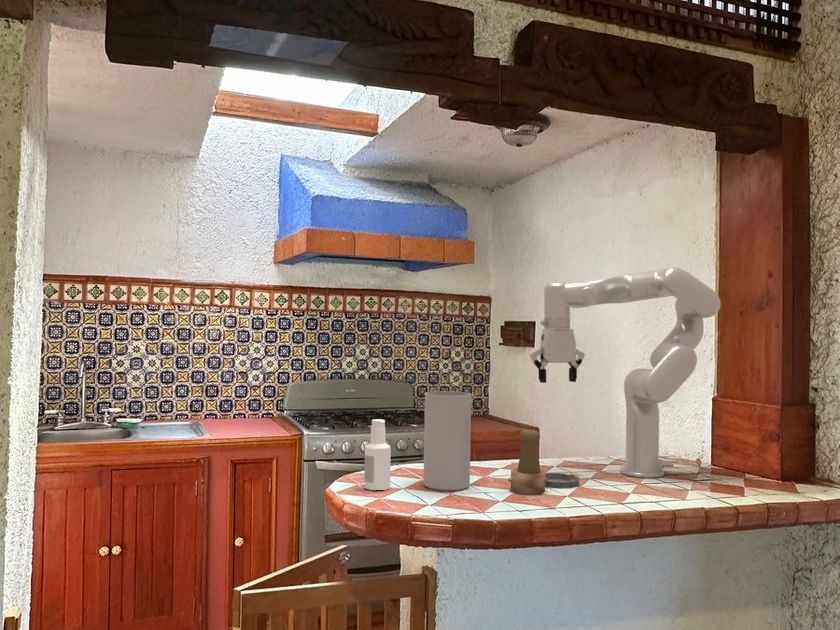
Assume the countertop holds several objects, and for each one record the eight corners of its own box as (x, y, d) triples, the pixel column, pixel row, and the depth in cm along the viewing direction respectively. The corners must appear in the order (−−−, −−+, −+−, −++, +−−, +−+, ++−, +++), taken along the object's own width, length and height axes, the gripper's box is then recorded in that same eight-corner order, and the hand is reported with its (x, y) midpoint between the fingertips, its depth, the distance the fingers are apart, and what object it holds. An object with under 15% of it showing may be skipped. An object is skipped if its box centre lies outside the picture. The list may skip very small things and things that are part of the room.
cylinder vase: (458, 479, 194) (460, 391, 195) (477, 489, 182) (478, 395, 183) (416, 482, 190) (418, 391, 190) (433, 492, 178) (434, 396, 178)
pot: (539, 486, 188) (539, 467, 188) (553, 494, 179) (553, 474, 179) (502, 487, 185) (503, 468, 186) (515, 495, 177) (515, 475, 177)
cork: (541, 474, 179) (542, 432, 179) (518, 473, 180) (518, 431, 180) (539, 469, 185) (540, 428, 186) (516, 468, 186) (517, 428, 186)
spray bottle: (373, 484, 186) (375, 417, 187) (394, 487, 183) (396, 419, 183) (358, 489, 180) (360, 420, 181) (380, 492, 177) (381, 422, 177)
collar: (566, 477, 200) (567, 470, 200) (586, 487, 188) (586, 479, 188) (526, 479, 197) (526, 471, 197) (544, 488, 185) (544, 480, 185)
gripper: (535, 324, 199) (536, 383, 199) (589, 324, 204) (590, 382, 203) (525, 324, 206) (525, 381, 206) (577, 324, 211) (578, 380, 210)
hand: (557, 382), depth 205 cm, fingers open, 9 cm apart
